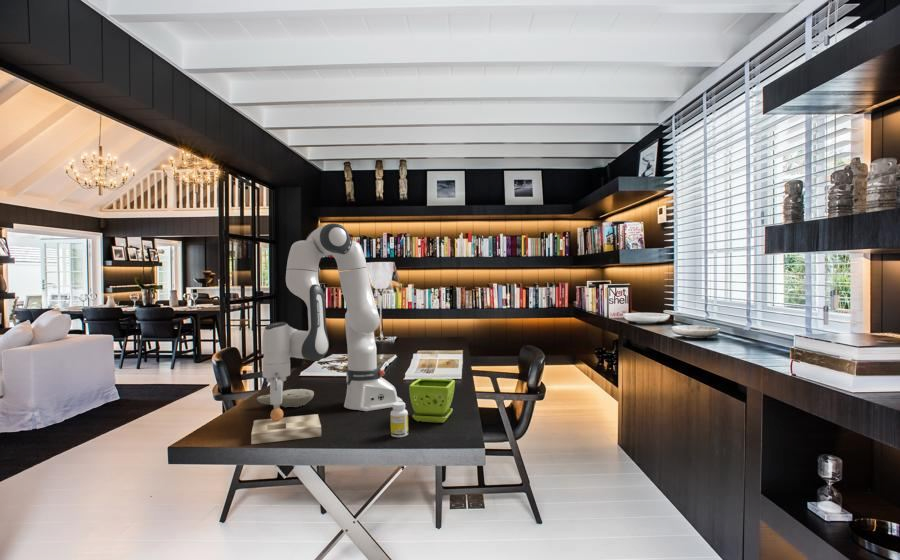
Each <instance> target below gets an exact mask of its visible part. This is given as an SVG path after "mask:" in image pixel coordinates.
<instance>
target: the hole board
mask: <svg viewBox="0 0 900 560" xmlns="http://www.w3.org/2000/svg"><path fill="white" fill-rule="evenodd" d="M250 435H251V439H250V440H251V441H250V444H251V445H258V444H267V443H276V442H284V441H292V440H302V439H308V438H309V439H311V438H317V437H318V438H320V437H322V424H321V421H320V417H319V414H318V413H317V414H315V413H314V414H305V415H296V416H295V415H294V416H287V417H286V416H285V417H284V416H283V417H282V419H280V420H279V421H274V420H272V419H271V418H267V419H265V418H264V419H256V420H255V419H254V420H253V424H252V430H251V434H250Z"/></svg>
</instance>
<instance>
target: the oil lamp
mask: <svg viewBox="0 0 900 560" xmlns="http://www.w3.org/2000/svg"><path fill="white" fill-rule="evenodd" d="M314 395H315V392H314V391H313V390H312V389H307V388H306V389H305V388H299V389H298V388H295V389H286V390H282V404H280V407H283V408H287V407H295V408H299V406H300V407H303V406H305V405H307V404H308V403H309V402H310V401H312V399H313V398H314ZM256 400H257V401H258V403H261V404H264V405H271V404H270V393H269V394H265V395H260V396H257V398H256ZM302 405H303V406H302Z"/></svg>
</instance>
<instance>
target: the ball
mask: <svg viewBox="0 0 900 560" xmlns="http://www.w3.org/2000/svg"><path fill="white" fill-rule="evenodd" d="M269 415H270V419H272V420H274V421H279V420H280V419H282V418H284V411H283V409H281V407H280V408H275V409H274V408H273V409H272V410H271V412H270V414H269Z"/></svg>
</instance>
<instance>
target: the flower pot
mask: <svg viewBox="0 0 900 560" xmlns="http://www.w3.org/2000/svg"><path fill="white" fill-rule="evenodd" d="M455 385H456V381H455V380H454V379H446V378H445V379H443V378H417V379H416V380H415V381H412V382H411V384H409V386H408V390H409V391H408V392H409V399H410V403H411V407H412V410H413V412H414V413H413V414H412V416H411V417H412V418H413V420H415V421H416V422H420V421H421V422H426V423H441V424H442V423H445V422H446V420H447V419H448V418H449V417H450V415H451V414H452V413H453V411H454V410H453V408H450V407H451V404H452V402H453V398H454V393H455V387H456V386H455Z"/></svg>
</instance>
